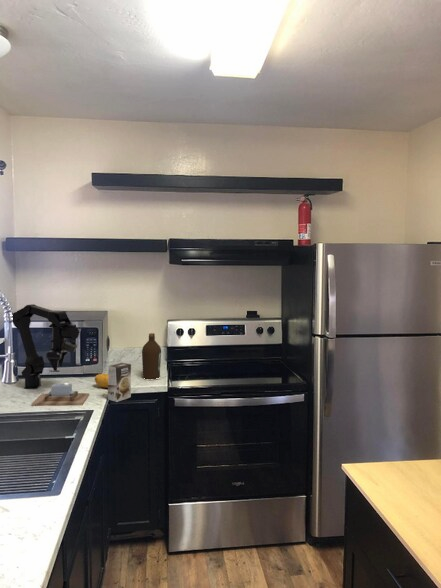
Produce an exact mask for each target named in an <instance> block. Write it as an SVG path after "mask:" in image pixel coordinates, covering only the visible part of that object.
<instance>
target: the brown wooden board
mask: <svg viewBox="0 0 441 588" xmlns="http://www.w3.org/2000/svg"><path fill="white" fill-rule="evenodd" d="M74 391H75V393H74V394H72V395H71V396H51V395H48V393H49V392H48V393H46V392H45V393H41V394H39V396H38V397H36V399H34V401H33V402H32V403H31V407H37V406H41V407H44V406H45V407H47V406H48V407H49V406H51V407H52V406H54V407H55V406H83V405H84V404H85V403H86V401H87V400H88V398H89V396H90V393H89V392H86V393H85V392H84V393H83V392H80V393H79V391H78V390H74Z"/></svg>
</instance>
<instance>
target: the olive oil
mask: <svg viewBox="0 0 441 588" xmlns="http://www.w3.org/2000/svg"><path fill="white" fill-rule="evenodd" d="M141 357H142V363H141V364H142V379H143V378H145V379H156V378H159V377H160V378H161V364H162V363H161V361H162V359H161V358H162V348H161V346H160V344H159V343H158V342H157V341H156V336H155V333H153V332H151V333H148V340H147V341H146V343H145V344H144V345H143V346H142V350H141ZM160 378H159V379H160ZM145 379H144V380H145Z"/></svg>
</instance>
